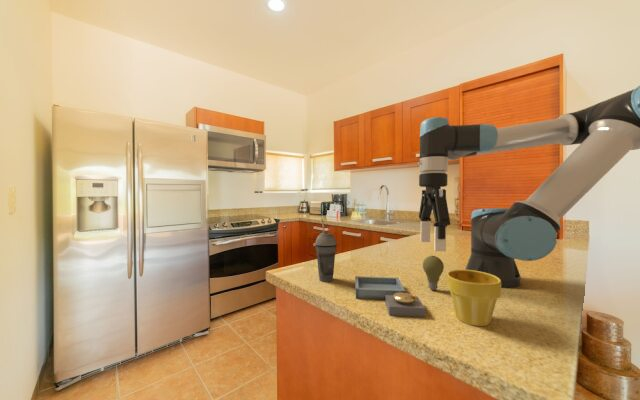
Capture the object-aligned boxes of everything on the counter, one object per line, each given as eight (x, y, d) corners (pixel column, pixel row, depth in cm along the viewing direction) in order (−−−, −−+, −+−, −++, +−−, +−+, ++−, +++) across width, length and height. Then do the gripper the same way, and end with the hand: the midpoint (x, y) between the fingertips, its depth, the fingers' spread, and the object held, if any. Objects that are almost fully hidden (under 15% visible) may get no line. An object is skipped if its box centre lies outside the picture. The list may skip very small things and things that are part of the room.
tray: (398, 285, 78) (398, 277, 78) (405, 300, 67) (405, 291, 67) (355, 284, 80) (355, 276, 80) (355, 298, 69) (355, 289, 69)
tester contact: (412, 295, 64) (412, 292, 64) (417, 303, 59) (417, 301, 59) (391, 294, 65) (391, 292, 65) (395, 302, 60) (395, 300, 60)
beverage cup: (335, 283, 80) (335, 220, 80) (312, 282, 82) (312, 220, 81) (338, 276, 87) (338, 218, 87) (317, 275, 89) (317, 218, 88)
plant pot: (479, 336, 50) (479, 286, 50) (436, 314, 60) (436, 272, 60) (512, 325, 54) (512, 279, 54) (466, 306, 64) (467, 267, 64)
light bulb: (447, 293, 72) (447, 258, 72) (427, 293, 72) (427, 258, 72) (438, 286, 77) (438, 253, 77) (419, 286, 78) (419, 253, 77)
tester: (417, 304, 65) (417, 293, 65) (425, 317, 58) (425, 305, 58) (385, 302, 66) (385, 292, 66) (389, 315, 59) (389, 303, 59)
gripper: (409, 176, 87) (409, 238, 87) (433, 168, 62) (431, 255, 63) (432, 176, 86) (431, 239, 86) (466, 168, 61) (464, 256, 62)
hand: (431, 246), depth 75 cm, fingers open, 13 cm apart
